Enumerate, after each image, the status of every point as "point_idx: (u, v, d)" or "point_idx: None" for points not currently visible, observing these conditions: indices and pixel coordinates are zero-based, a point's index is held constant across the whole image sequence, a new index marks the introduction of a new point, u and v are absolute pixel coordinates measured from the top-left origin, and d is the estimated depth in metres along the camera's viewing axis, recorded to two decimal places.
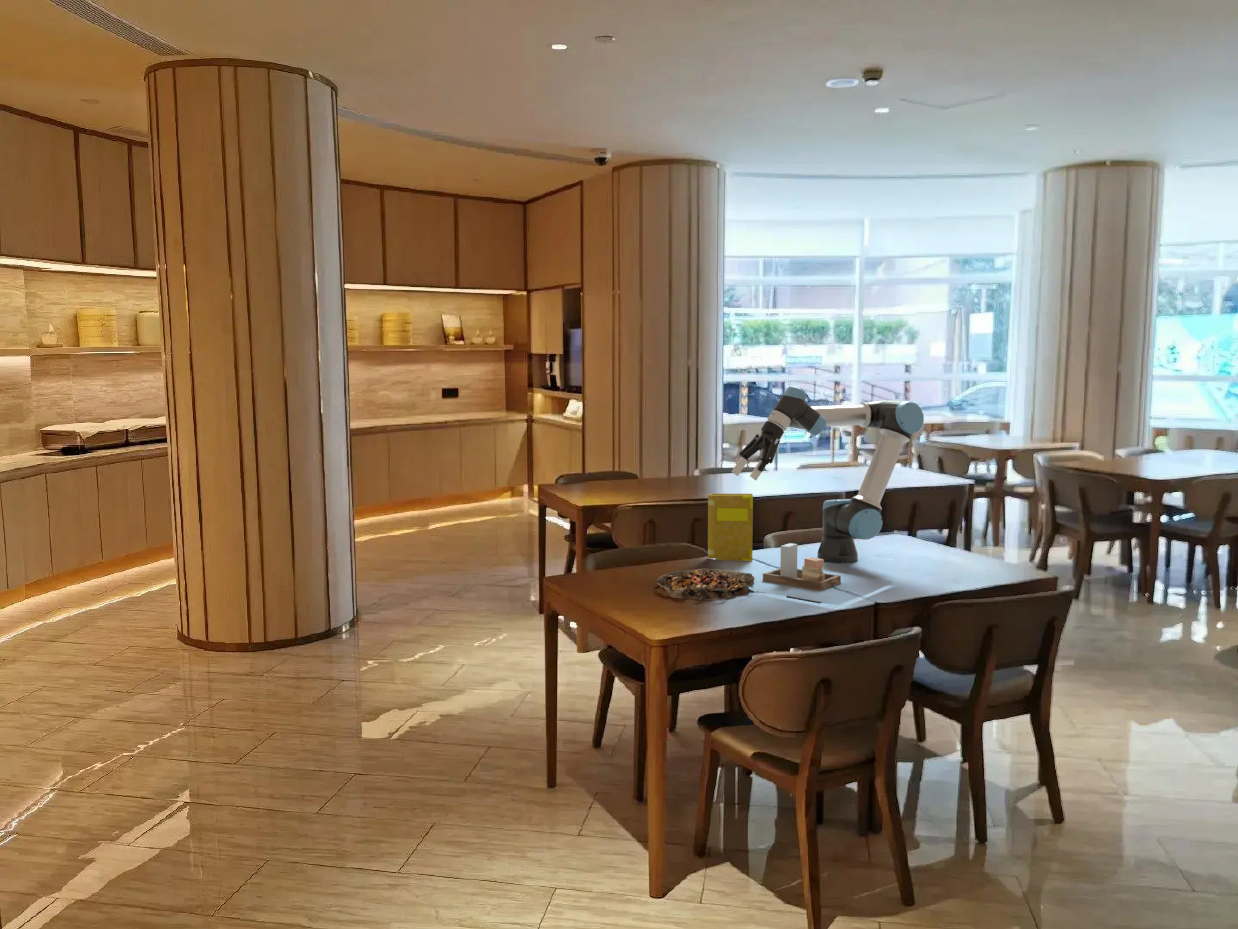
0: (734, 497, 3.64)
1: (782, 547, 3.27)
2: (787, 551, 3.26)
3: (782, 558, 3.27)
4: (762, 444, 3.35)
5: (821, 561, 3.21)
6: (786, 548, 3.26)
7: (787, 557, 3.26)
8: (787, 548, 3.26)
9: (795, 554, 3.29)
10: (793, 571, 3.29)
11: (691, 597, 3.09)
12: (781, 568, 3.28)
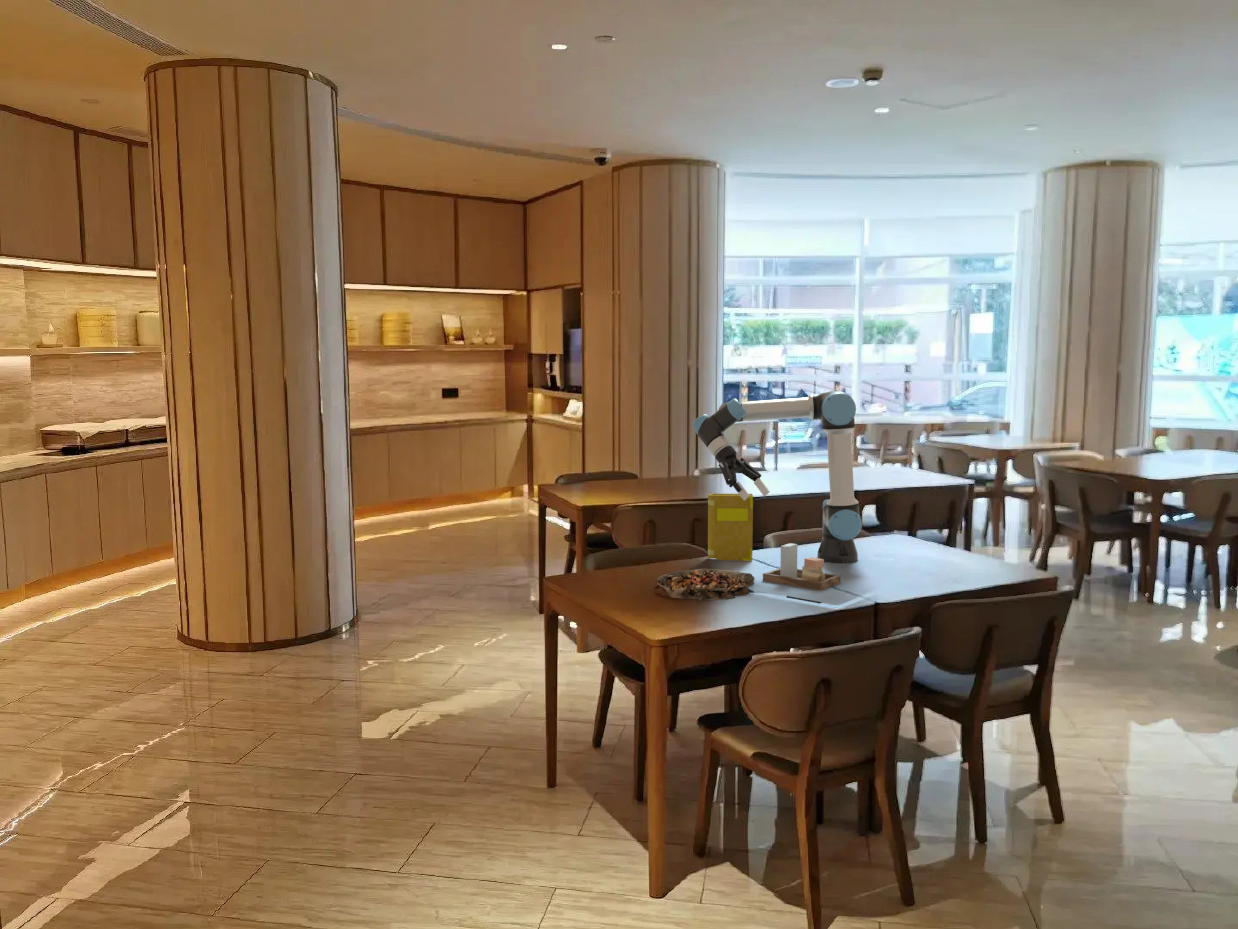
0: (734, 497, 3.64)
1: (782, 547, 3.27)
2: (787, 551, 3.26)
3: (782, 558, 3.27)
4: None
5: (821, 561, 3.21)
6: (786, 548, 3.26)
7: (787, 557, 3.26)
8: (787, 548, 3.26)
9: (795, 554, 3.29)
10: (793, 571, 3.29)
11: (691, 597, 3.09)
12: (781, 568, 3.28)
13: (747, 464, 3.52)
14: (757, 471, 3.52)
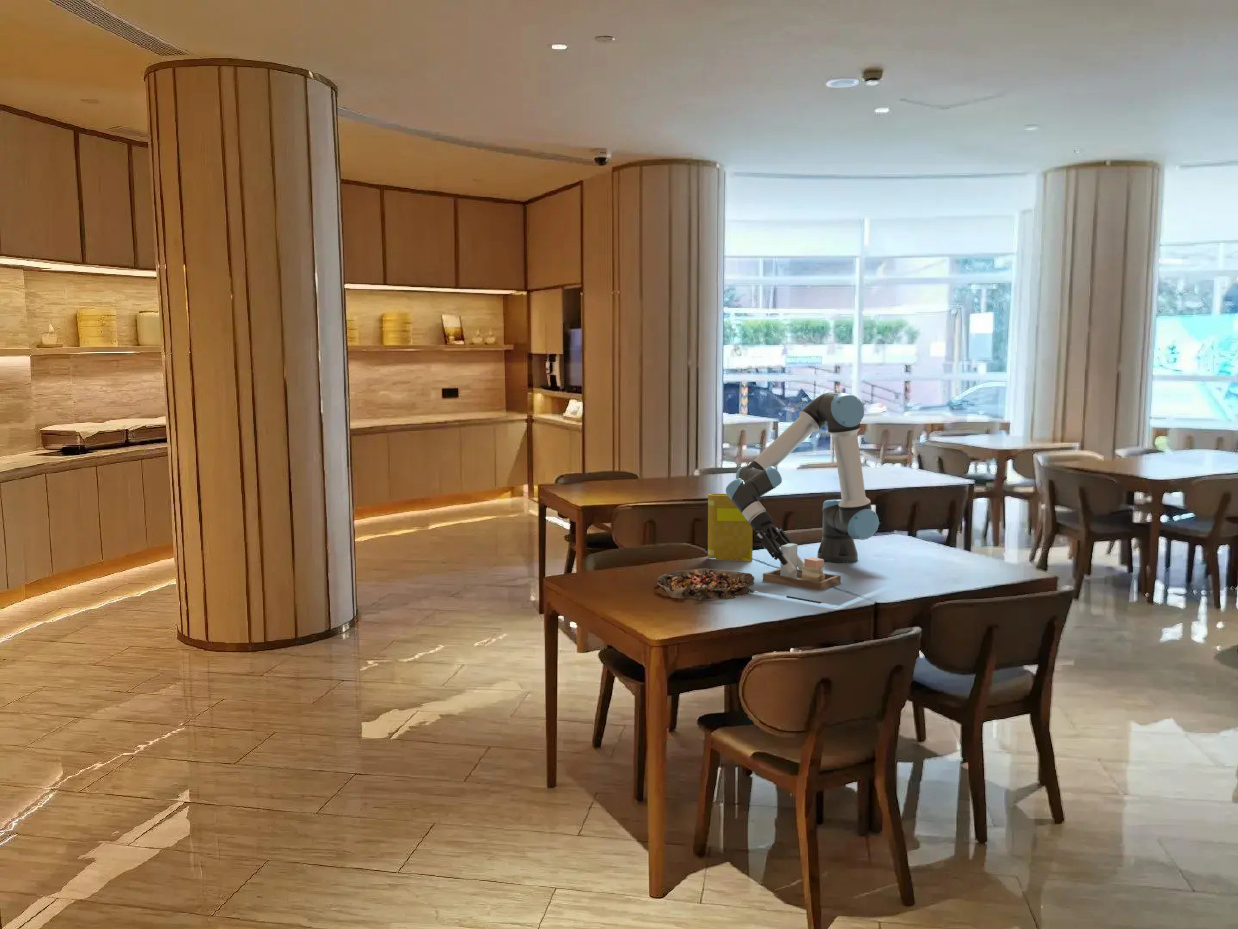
0: None
1: (782, 547, 3.27)
2: (787, 551, 3.26)
3: None
4: None
5: (821, 561, 3.21)
6: (786, 548, 3.26)
7: (787, 557, 3.26)
8: (787, 548, 3.26)
9: (795, 554, 3.29)
10: (793, 571, 3.29)
11: (691, 597, 3.09)
12: (781, 568, 3.28)
13: (784, 533, 3.36)
14: (793, 543, 3.35)
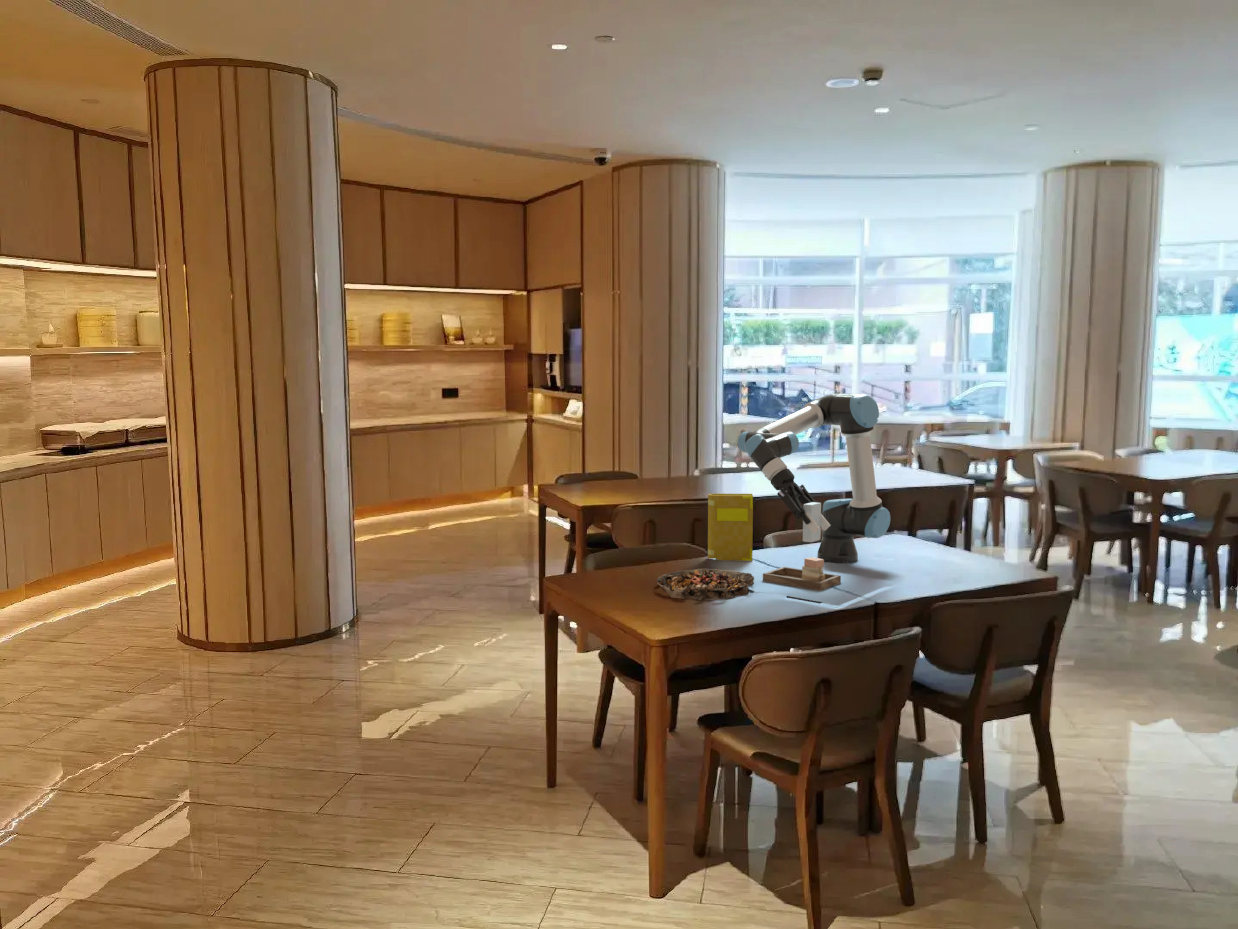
0: (734, 497, 3.64)
1: (805, 505, 3.06)
2: (810, 510, 3.05)
3: None
4: None
5: (821, 561, 3.21)
6: (809, 506, 3.05)
7: None
8: (810, 506, 3.04)
9: (819, 513, 3.08)
10: None
11: (691, 597, 3.09)
12: (804, 528, 3.07)
13: (806, 492, 3.15)
14: None
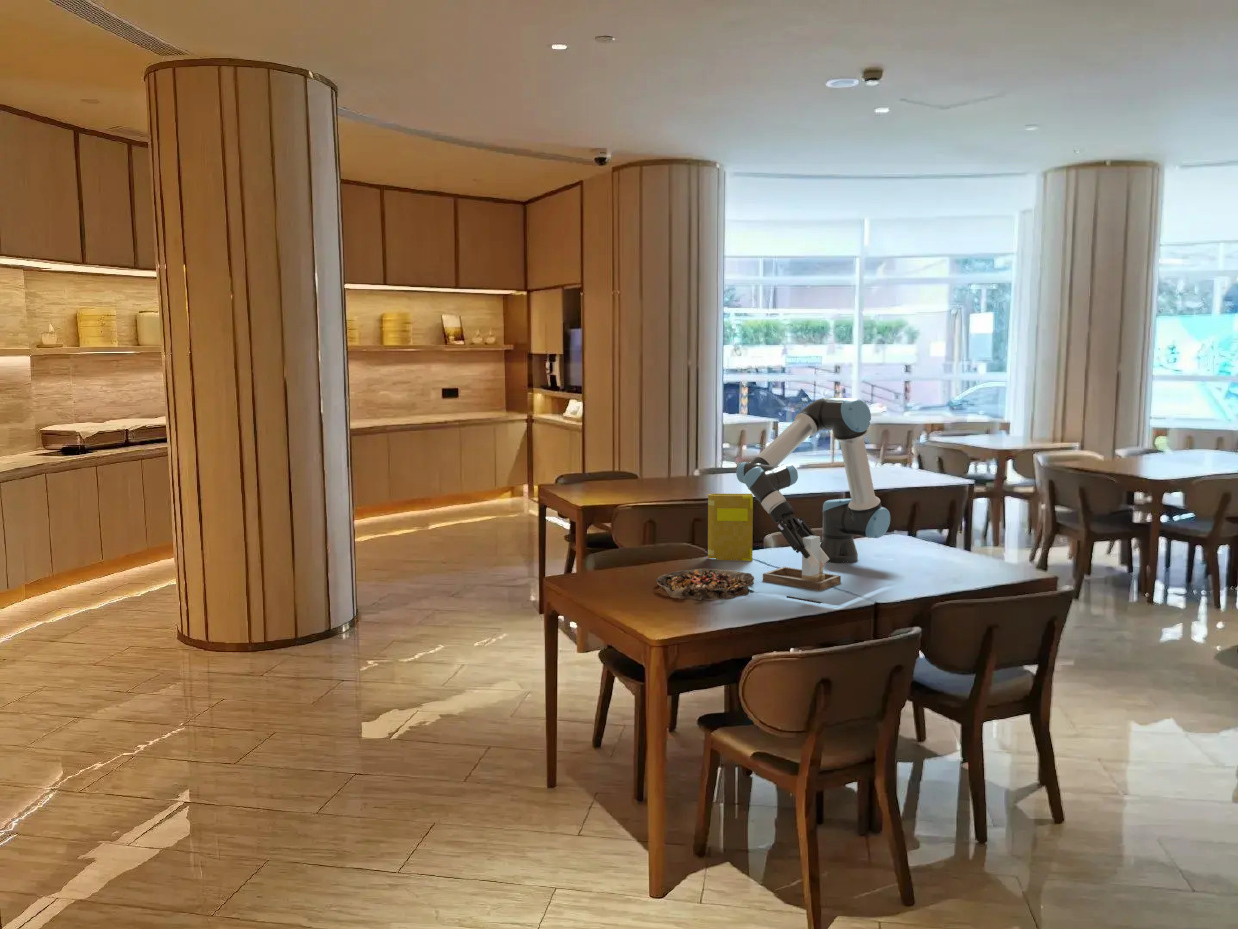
0: (734, 497, 3.64)
1: (804, 539, 3.06)
2: (809, 544, 3.05)
3: None
4: None
5: None
6: (808, 540, 3.05)
7: None
8: (809, 540, 3.05)
9: (818, 547, 3.09)
10: (816, 565, 3.08)
11: (691, 597, 3.10)
12: (803, 562, 3.07)
13: (805, 525, 3.15)
14: (815, 535, 3.14)
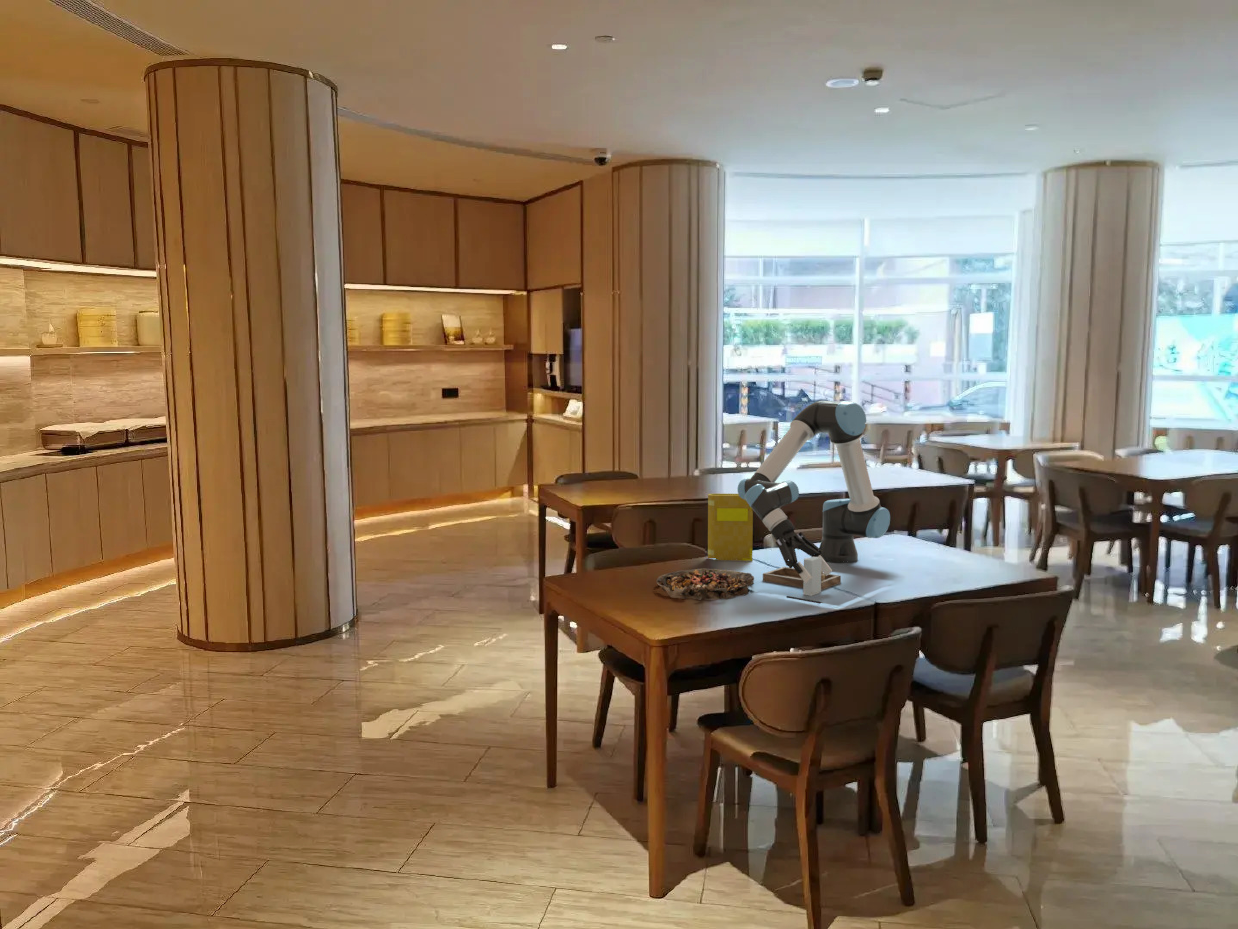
0: (734, 497, 3.64)
1: (805, 561, 3.08)
2: (810, 565, 3.06)
3: None
4: None
5: None
6: (810, 562, 3.06)
7: (811, 571, 3.07)
8: (811, 562, 3.06)
9: (819, 568, 3.10)
10: (817, 586, 3.10)
11: (691, 597, 3.10)
12: (804, 583, 3.09)
13: (806, 539, 3.17)
14: (817, 547, 3.18)
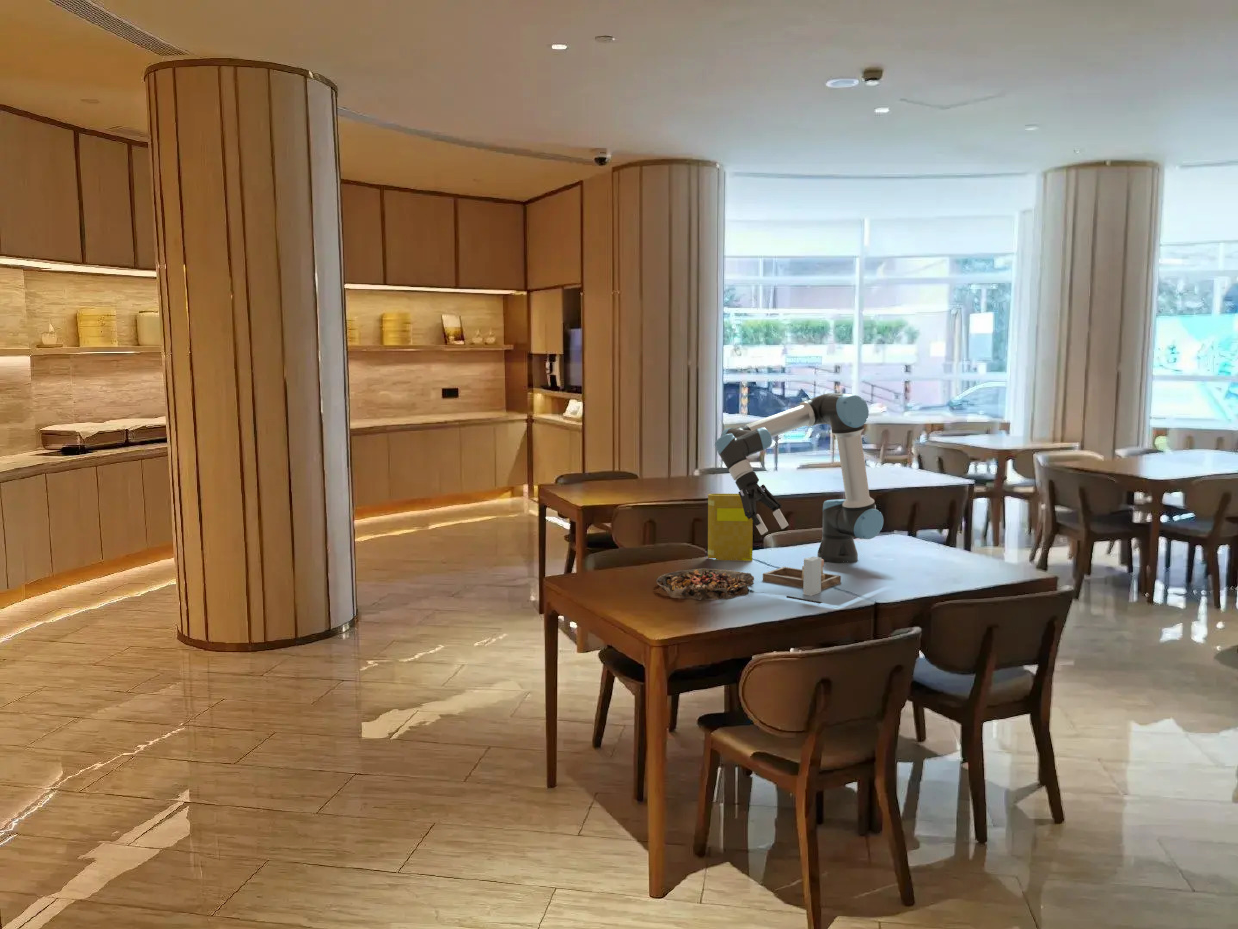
0: (734, 497, 3.64)
1: (805, 561, 3.08)
2: (810, 565, 3.06)
3: (805, 572, 3.08)
4: None
5: (821, 561, 3.21)
6: (810, 562, 3.06)
7: (811, 571, 3.07)
8: (811, 562, 3.06)
9: (819, 568, 3.10)
10: (817, 586, 3.10)
11: (691, 597, 3.10)
12: (804, 583, 3.09)
13: (768, 492, 3.29)
14: (777, 500, 3.30)
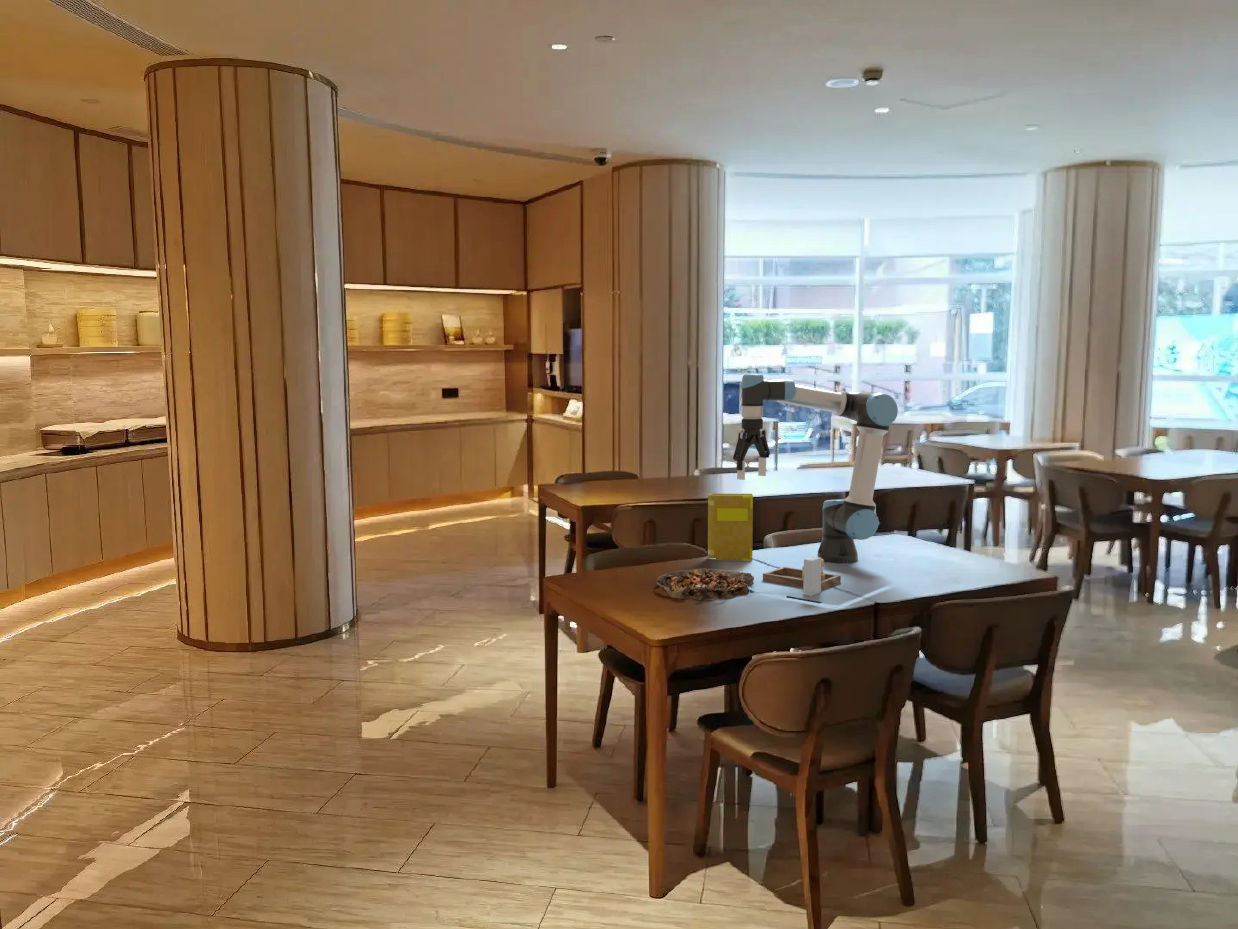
0: (734, 497, 3.64)
1: (805, 561, 3.08)
2: (810, 565, 3.06)
3: (805, 572, 3.08)
4: None
5: (821, 561, 3.21)
6: (810, 562, 3.06)
7: (811, 571, 3.07)
8: (811, 562, 3.06)
9: (819, 568, 3.10)
10: (817, 586, 3.10)
11: (690, 597, 3.10)
12: (804, 583, 3.09)
13: (764, 439, 3.43)
14: None
